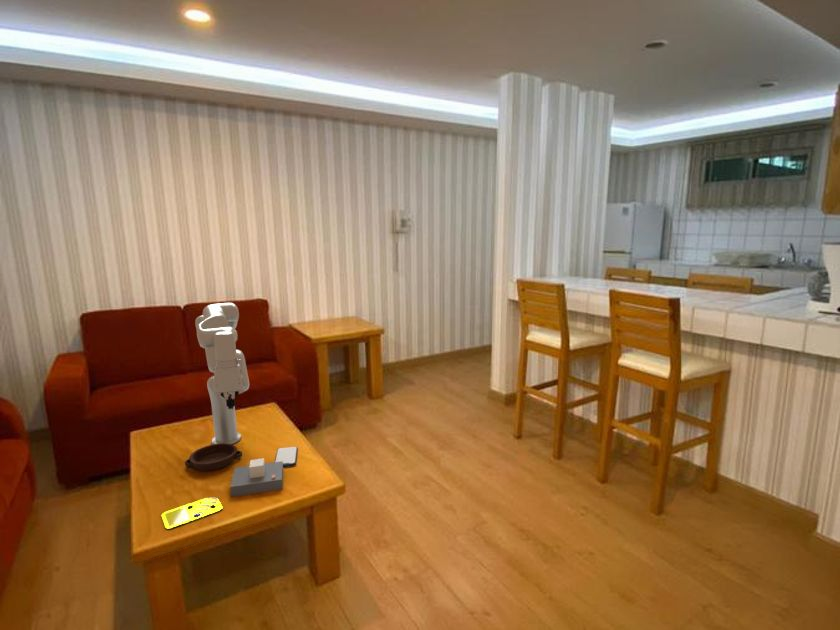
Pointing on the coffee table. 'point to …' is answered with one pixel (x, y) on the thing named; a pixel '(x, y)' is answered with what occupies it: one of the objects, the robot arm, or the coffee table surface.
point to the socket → (257, 480)
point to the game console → (191, 512)
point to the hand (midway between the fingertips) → (231, 407)
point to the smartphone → (287, 456)
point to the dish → (213, 457)
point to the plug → (257, 468)
